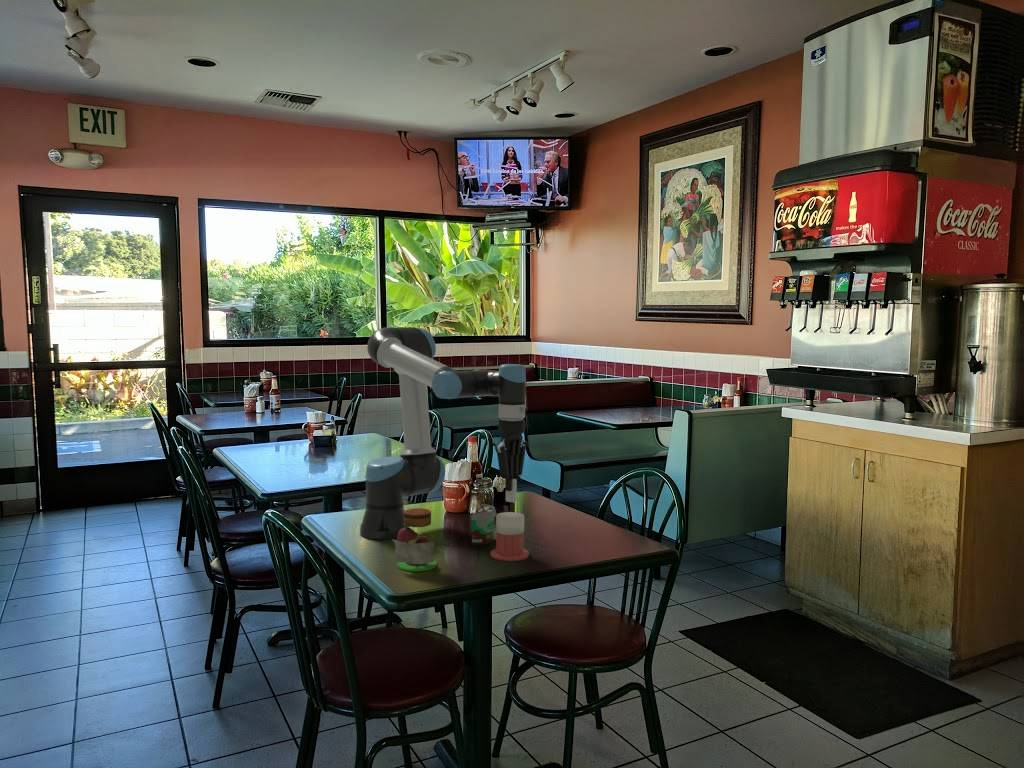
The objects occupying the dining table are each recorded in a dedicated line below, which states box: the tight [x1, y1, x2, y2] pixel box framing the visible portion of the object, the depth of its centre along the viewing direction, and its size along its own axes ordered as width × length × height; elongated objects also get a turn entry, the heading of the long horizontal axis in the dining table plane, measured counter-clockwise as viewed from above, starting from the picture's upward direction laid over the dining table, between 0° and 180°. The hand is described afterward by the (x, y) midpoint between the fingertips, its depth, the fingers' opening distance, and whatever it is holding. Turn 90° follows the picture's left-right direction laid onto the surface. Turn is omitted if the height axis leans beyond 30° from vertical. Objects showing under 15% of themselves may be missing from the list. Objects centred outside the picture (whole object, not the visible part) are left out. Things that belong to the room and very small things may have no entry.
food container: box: [470, 503, 497, 546], centre depth 228 cm, size 12×6×10 cm, turn 168°
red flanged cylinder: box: [490, 532, 530, 562], centre depth 214 cm, size 11×11×7 cm
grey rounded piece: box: [495, 511, 525, 535], centre depth 214 cm, size 8×8×7 cm
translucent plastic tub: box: [391, 507, 438, 572], centre depth 203 cm, size 12×13×15 cm
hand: (511, 501), depth 213 cm, fingers closed
